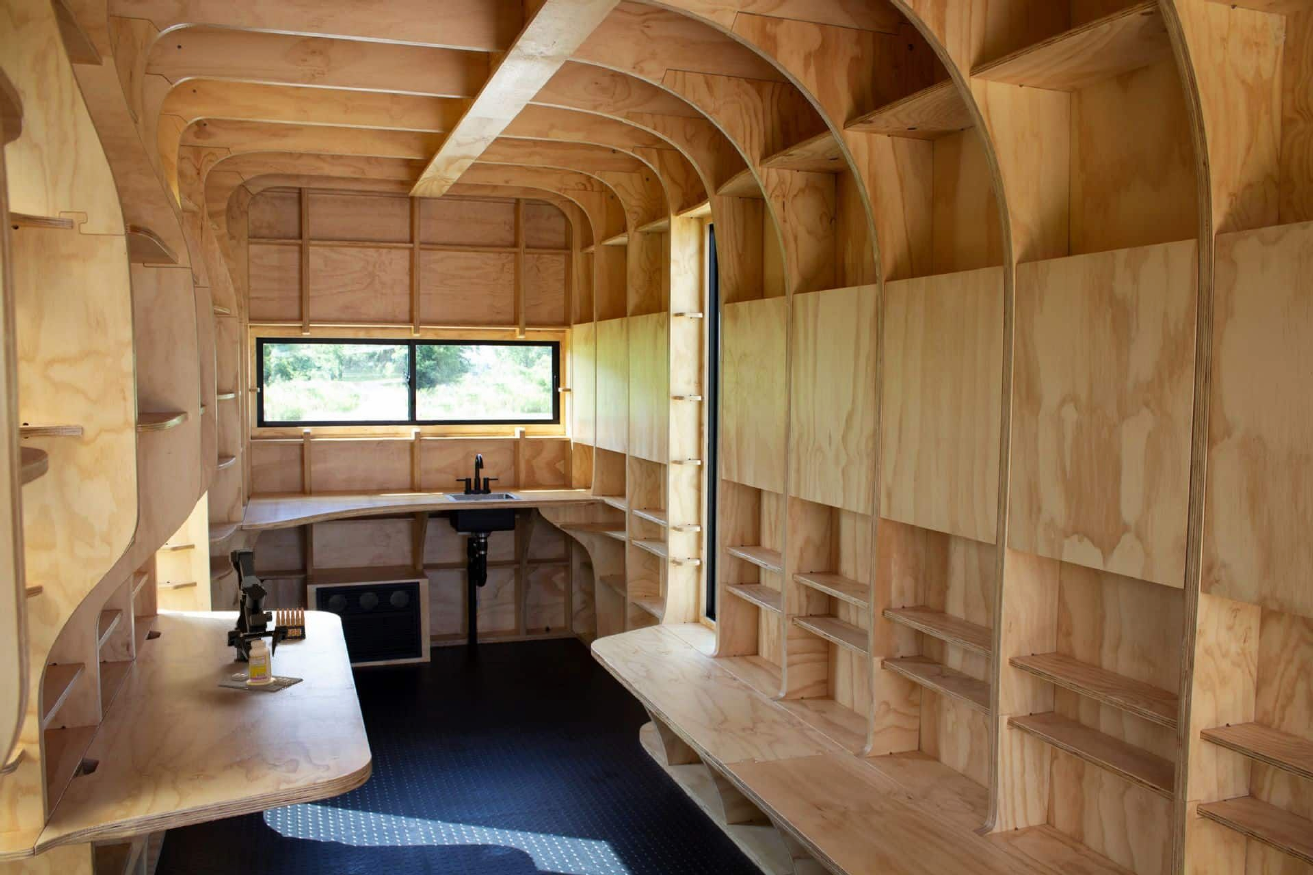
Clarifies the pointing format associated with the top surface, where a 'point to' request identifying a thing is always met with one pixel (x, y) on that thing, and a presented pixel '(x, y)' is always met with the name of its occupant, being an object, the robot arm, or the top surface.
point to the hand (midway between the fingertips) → (260, 657)
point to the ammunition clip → (292, 623)
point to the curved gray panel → (270, 685)
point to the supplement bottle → (259, 662)
